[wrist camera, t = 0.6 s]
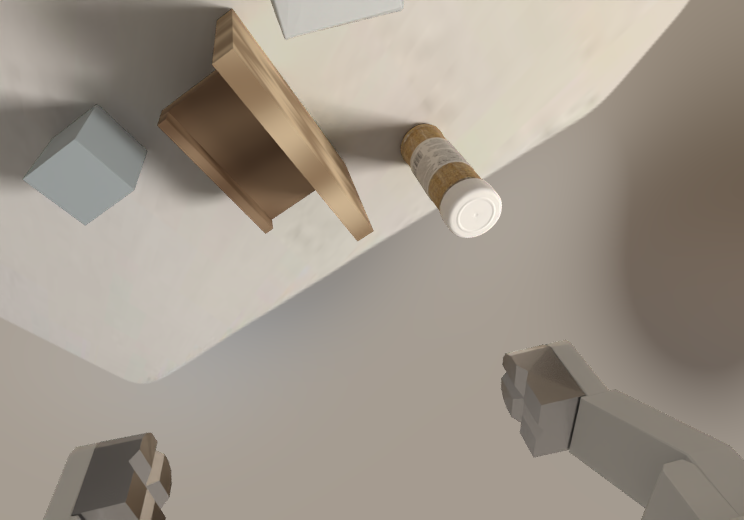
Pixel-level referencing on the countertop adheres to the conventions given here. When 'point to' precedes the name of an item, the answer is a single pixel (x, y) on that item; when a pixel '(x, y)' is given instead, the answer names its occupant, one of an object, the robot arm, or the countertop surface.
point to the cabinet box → (88, 166)
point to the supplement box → (327, 13)
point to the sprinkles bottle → (450, 182)
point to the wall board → (259, 136)
